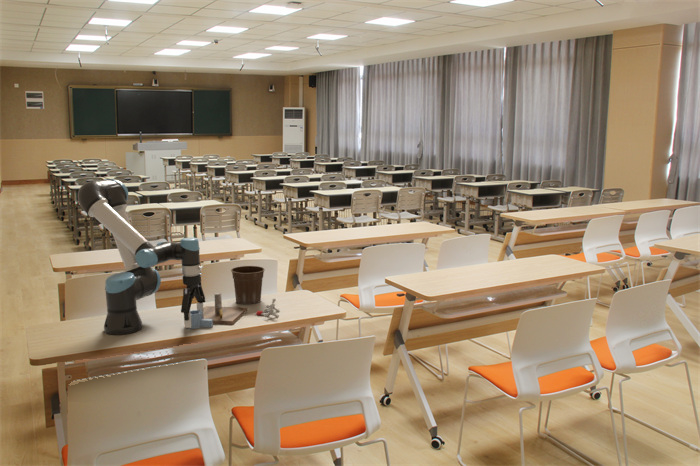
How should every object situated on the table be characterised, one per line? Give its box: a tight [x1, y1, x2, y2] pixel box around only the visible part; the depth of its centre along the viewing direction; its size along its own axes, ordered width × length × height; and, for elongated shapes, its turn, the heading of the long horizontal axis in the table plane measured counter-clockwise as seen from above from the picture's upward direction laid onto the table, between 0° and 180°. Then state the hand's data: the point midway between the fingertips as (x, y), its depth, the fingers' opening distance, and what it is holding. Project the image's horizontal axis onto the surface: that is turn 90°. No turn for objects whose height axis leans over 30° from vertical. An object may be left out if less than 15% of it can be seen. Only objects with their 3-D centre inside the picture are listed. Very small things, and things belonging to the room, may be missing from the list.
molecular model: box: [255, 298, 280, 318], centre depth 270 cm, size 14×8×10 cm
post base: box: [203, 292, 248, 325], centre depth 267 cm, size 20×20×10 cm
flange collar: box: [189, 309, 214, 329], centre depth 254 cm, size 12×7×6 cm, turn 82°
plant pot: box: [230, 265, 266, 305], centre depth 291 cm, size 16×16×16 cm
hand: (194, 322), depth 254 cm, fingers open, 13 cm apart
